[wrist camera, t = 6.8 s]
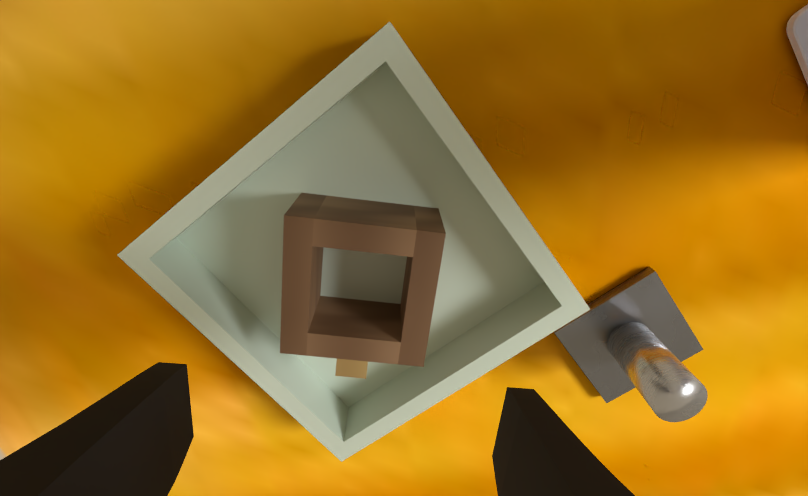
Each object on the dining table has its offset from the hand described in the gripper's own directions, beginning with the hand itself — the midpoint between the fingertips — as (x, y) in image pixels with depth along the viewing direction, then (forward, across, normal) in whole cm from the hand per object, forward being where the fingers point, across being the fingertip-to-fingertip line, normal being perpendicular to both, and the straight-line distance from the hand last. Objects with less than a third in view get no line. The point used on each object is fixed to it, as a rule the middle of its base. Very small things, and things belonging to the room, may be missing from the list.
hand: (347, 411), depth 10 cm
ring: (+9, 0, 0) cm, 9 cm away
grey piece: (+10, -12, +3) cm, 16 cm away
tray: (+10, 0, 0) cm, 10 cm away
